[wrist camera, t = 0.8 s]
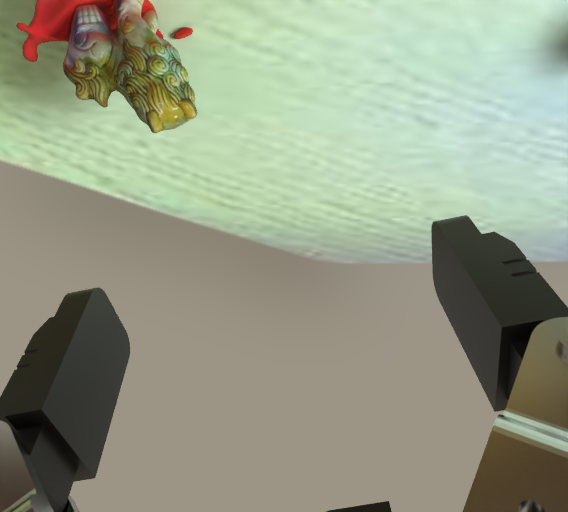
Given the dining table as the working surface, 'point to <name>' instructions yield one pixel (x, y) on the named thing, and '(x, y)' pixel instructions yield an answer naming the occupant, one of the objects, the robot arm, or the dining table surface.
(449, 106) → the dining table surface
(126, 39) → the figurine
